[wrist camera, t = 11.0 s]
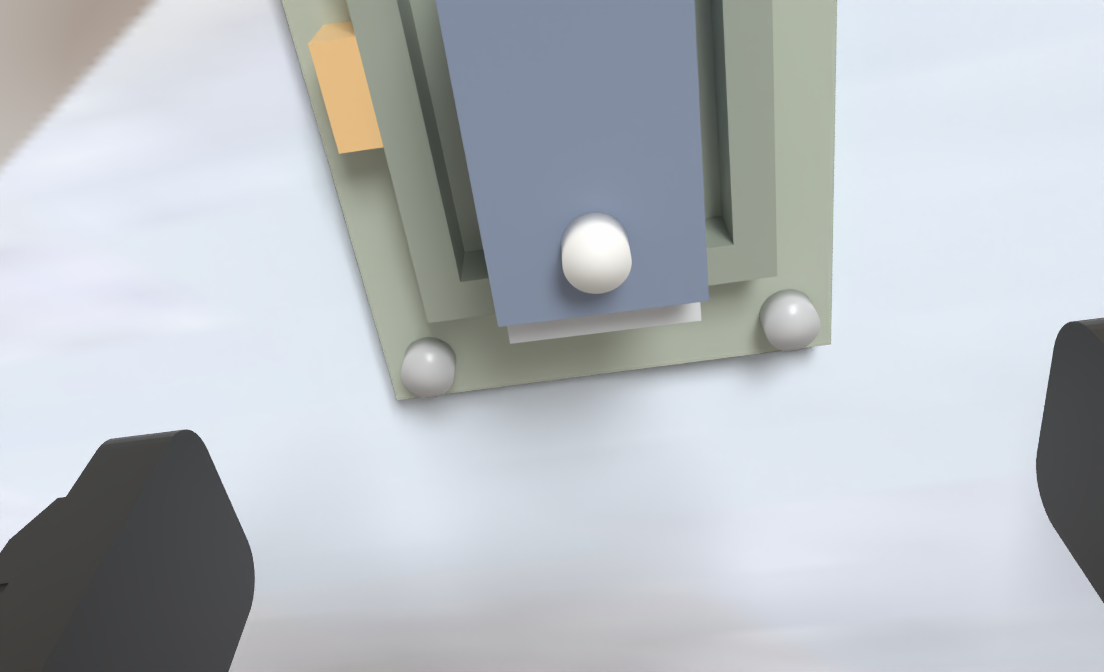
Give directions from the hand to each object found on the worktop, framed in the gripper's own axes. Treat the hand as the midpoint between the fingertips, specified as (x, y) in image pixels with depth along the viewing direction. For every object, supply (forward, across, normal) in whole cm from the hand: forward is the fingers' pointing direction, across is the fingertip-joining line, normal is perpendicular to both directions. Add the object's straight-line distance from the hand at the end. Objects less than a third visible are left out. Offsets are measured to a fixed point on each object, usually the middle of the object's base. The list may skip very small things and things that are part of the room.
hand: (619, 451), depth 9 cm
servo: (+14, 0, 0) cm, 14 cm away
